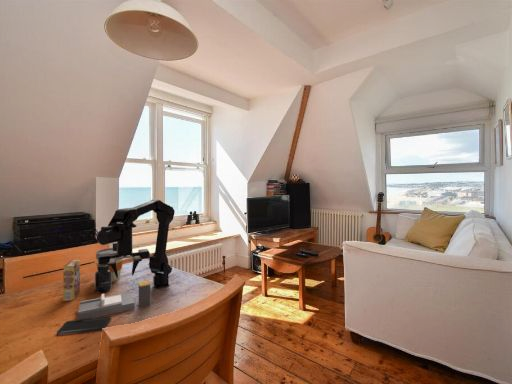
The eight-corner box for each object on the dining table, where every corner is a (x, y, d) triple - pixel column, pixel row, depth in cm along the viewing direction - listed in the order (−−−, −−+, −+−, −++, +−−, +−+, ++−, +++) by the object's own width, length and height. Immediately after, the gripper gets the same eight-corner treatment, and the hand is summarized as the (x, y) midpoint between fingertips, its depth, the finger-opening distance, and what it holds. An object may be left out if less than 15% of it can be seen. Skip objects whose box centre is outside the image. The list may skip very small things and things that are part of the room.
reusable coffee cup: (91, 280, 132) (90, 251, 132) (115, 273, 143) (115, 246, 142) (104, 285, 126) (103, 255, 125) (128, 277, 136) (128, 250, 136)
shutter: (120, 296, 109) (120, 290, 109) (121, 302, 103) (121, 296, 103) (101, 299, 106) (101, 293, 105) (101, 307, 99) (101, 300, 99)
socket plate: (132, 297, 113) (132, 291, 113) (134, 308, 104) (134, 301, 104) (80, 308, 103) (80, 300, 103) (77, 321, 94) (77, 313, 94)
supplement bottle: (103, 293, 117) (103, 268, 116) (91, 292, 118) (90, 266, 118) (115, 287, 124) (114, 263, 123) (102, 286, 125) (102, 262, 124)
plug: (148, 300, 111) (148, 280, 110) (150, 304, 107) (150, 283, 107) (138, 303, 109) (138, 282, 108) (139, 307, 105) (139, 285, 105)
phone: (105, 327, 89) (55, 333, 85) (105, 331, 89) (55, 336, 85) (112, 316, 96) (66, 320, 93) (112, 319, 97) (66, 323, 93)
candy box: (74, 300, 110) (74, 265, 110) (62, 301, 109) (62, 266, 108) (80, 291, 119) (80, 259, 118) (69, 293, 117) (69, 260, 117)
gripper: (146, 233, 118) (146, 267, 118) (98, 238, 108) (99, 274, 109) (149, 238, 108) (150, 274, 109) (98, 243, 98) (98, 283, 99)
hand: (125, 276), depth 106 cm, fingers open, 5 cm apart
